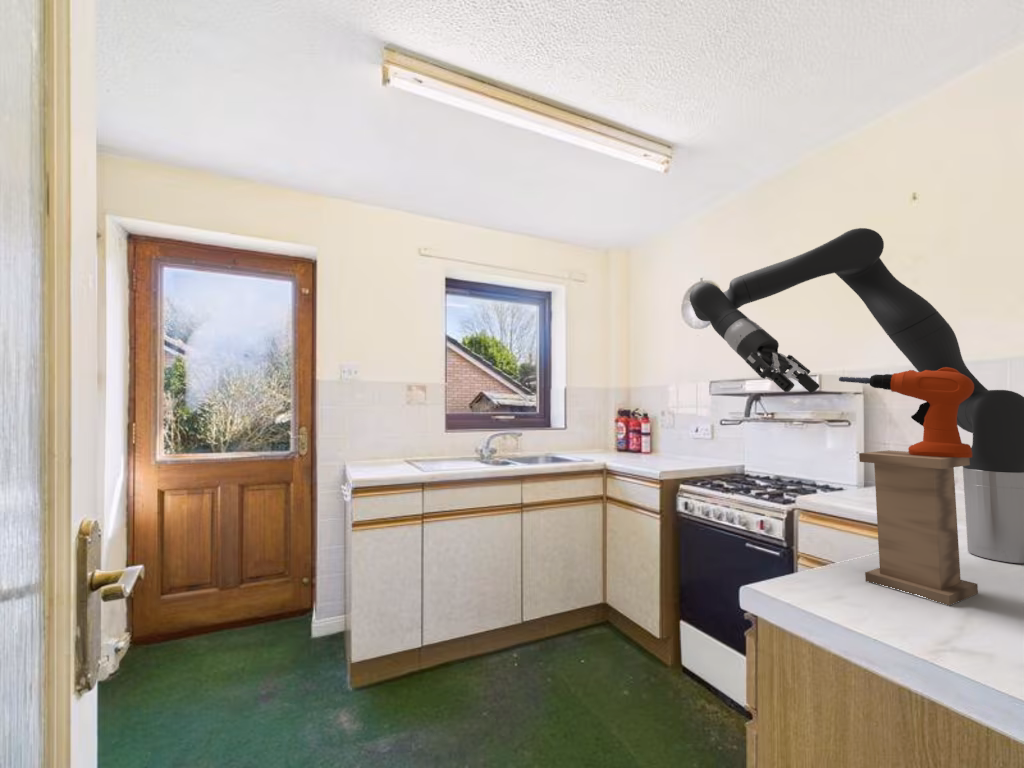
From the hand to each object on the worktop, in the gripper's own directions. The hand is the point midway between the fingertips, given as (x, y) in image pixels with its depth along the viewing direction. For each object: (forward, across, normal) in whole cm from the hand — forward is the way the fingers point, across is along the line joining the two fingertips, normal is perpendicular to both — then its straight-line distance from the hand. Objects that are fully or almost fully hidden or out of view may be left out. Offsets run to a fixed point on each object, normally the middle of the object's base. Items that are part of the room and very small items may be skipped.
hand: (803, 389), depth 92 cm
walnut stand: (+36, 0, +11) cm, 38 cm away
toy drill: (+20, +1, -3) cm, 20 cm away
